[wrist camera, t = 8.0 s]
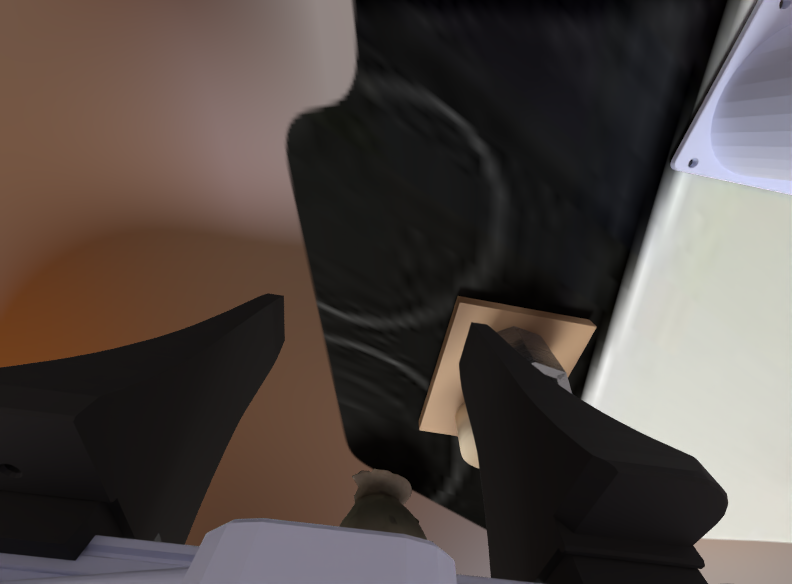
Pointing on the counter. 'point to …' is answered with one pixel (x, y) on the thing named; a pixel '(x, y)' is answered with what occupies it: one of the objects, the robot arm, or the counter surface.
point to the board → (557, 331)
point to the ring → (536, 353)
